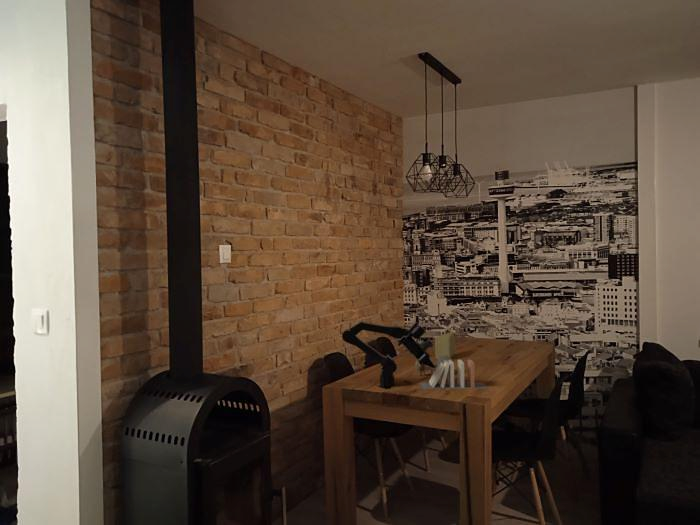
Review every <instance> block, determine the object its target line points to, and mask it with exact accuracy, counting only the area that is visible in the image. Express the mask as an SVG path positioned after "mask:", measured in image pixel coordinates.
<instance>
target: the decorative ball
mask: <svg viewBox="0 0 700 525" xmlns="http://www.w3.org/2000/svg"><path fill="white" fill-rule="evenodd" d="M444 360H447V361H448V360H452V362H453V363H454V364H455V361H454V360H453V358H452V357H449V356H446V355H443V356H440V357H439V358H438V359H436V362H435V364H436V366H438V364H439V363H440V361H441V362H442V363H443V361H444Z"/></svg>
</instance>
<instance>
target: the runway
mask: <svg viewBox="0 0 700 525" xmlns="http://www.w3.org/2000/svg"><path fill="white" fill-rule="evenodd" d="M419 384H420V387H421V389H422V390H423V389H424V390H430V389H431V390H436V389H437V390H445V389H447V390H449V389H451V390H455V389H457V390H458V389H459V390H460V389H462V390H464V389H465V390H467V389H468V390H469V389H480V390H481V389H488V386H486V385H485V383H484V382H482V381H481V382H480V381H477V382H475V388H471V387H470V385H469V384H468V381H467V382H466V381H464V388H461V387H460V385H459V384H458V381H457V382H455V381H454V388H451V387H450V386H449V384H448V381H445V386H444V388H443V387H440V385H439V383H438V382H437V383H436V385H435V387H434V388H433V387H431V385H430V383H429V382H419Z"/></svg>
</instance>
